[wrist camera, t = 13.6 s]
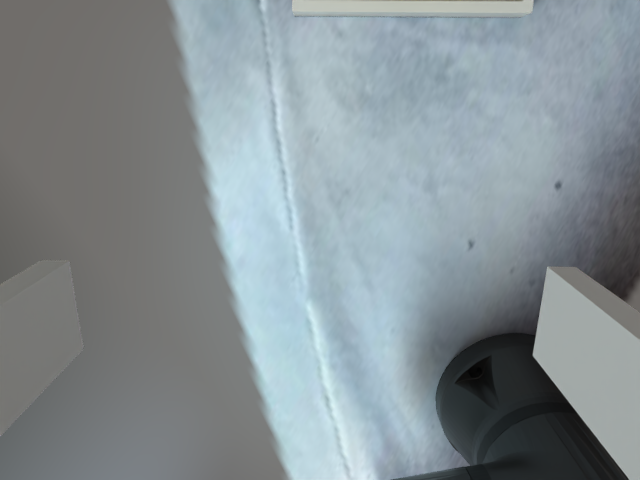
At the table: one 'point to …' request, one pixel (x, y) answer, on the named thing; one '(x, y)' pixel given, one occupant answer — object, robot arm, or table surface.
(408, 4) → the serving tray
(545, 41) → the table surface
